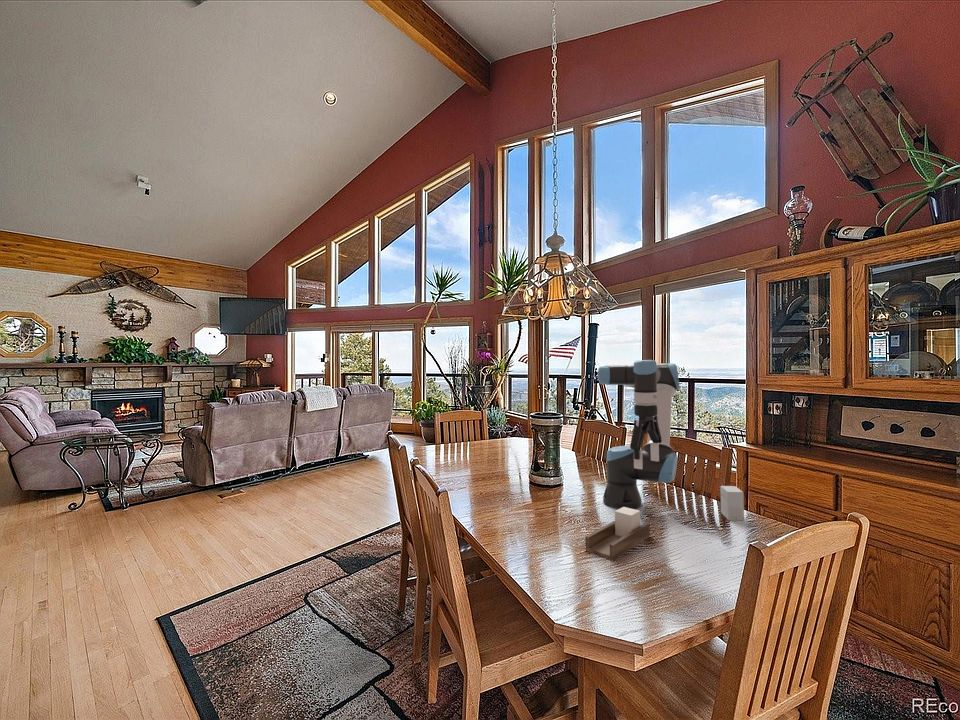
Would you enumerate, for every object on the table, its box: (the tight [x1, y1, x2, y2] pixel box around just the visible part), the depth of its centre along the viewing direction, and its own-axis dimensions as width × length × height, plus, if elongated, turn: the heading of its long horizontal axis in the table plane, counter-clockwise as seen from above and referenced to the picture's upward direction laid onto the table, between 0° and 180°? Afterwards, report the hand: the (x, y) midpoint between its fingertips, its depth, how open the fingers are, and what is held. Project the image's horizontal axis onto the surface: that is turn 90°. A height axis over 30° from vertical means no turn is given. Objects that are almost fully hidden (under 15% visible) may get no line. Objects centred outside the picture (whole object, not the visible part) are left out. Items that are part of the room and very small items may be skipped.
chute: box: [584, 520, 651, 561], centre depth 147 cm, size 10×24×4 cm, turn 134°
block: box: [614, 507, 641, 537], centre depth 151 cm, size 6×6×8 cm
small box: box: [719, 485, 745, 521], centre depth 168 cm, size 8×6×10 cm
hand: (646, 464), depth 157 cm, fingers open, 13 cm apart
